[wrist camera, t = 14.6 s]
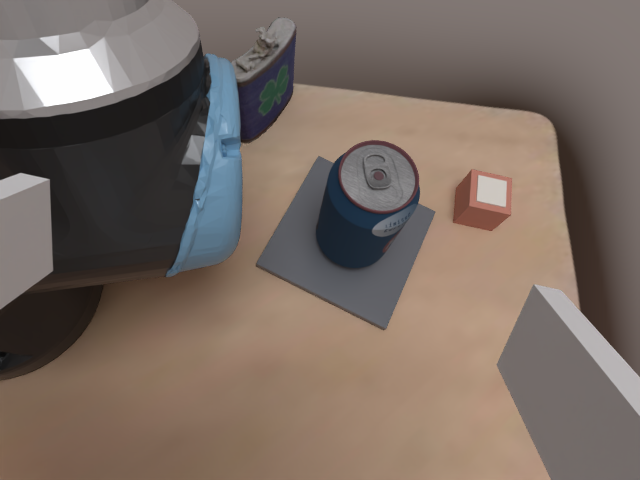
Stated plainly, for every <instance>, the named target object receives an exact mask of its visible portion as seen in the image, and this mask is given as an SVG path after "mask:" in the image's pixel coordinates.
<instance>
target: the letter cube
mask: <svg viewBox="0 0 640 480" xmlns="http://www.w3.org/2000/svg"><path fill="white" fill-rule="evenodd" d="M511 194H512V178H509V177H504V176H500V175H495V174H491V173H486V172H482V171H477V170H473V169H472V170H471V171H470V172H469V173H468V175H467V176H466V177H465V178H464V179H463V181H462V182H461V183H460V184H459V185H458V187H457V188H456V195H455V207H454V219H453V223H457V224H462V225H466V226H471V227H476V228H480V229H485V230H489V231H492V230H493V229H494V228H496V227H497V226H498V225H499V224H501V223H502V222H503V221H504V220H505V219H507V218H508V217H509V216H510V215H511Z"/></svg>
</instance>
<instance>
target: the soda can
mask: <svg viewBox="0 0 640 480" xmlns="http://www.w3.org/2000/svg"><path fill="white" fill-rule="evenodd" d="M419 197H420V188H419V174H418V170H417V168H416V165H415V163H414V162H413V160H412V159H411V157H410V156H409V155H408V154H407V153H406V152H405V151H404V150H402V149H401V148H399V147H398V146H396V145H394V144H391V143H388V142H385V141H378V140H372V141H365V142H362V143H359V144H357V145H355V146H353V147H352V148H350V149H349V150H348V151H347V152H346V153H344V154H343V155H342V156H340V157H339V158H338V159H337V160H336V161H335V163H334V164H333V166H332V167H331V170H330V172H329V175H328V179H327V183H326V187H325V192H324V196H323V200H322V204H321V208H320V212H319V216H318V220H317V224H316V237H317V241H318V244H319V246H320V248H321V250H322V251H323V252H324V254H325V255H326V256H327V257H328V258H329V259H330V260H332V261H333V262H335V263H337V264H339V265H341V266H344V267H348V268H362V267H366V266H369V265H372V264H374V263H375V262H377V261H378V260H379V259H380V258H381V257H382V256H383V255H384V254H385V252H386V251H387V249H388V248H389V247H390V245H391V244H392V242H393V241H394V240H395V238H396V237H397V235H398V234H399V232H400V231H401V230H402V228H403V227H404V225H405V224H406V223H407V221H408V220H409V218H410V217H411V215H412V214H413V213H414V211H415V209H416V207H417V205H418V202H419Z"/></svg>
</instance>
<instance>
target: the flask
mask: <svg viewBox="0 0 640 480" xmlns="http://www.w3.org/2000/svg"><path fill="white" fill-rule="evenodd" d="M255 31H256V32H260V33H261V35H259V37H260V39H259V40H257V42H256V43H255V45H254V46H253V47H252V48H251V49H250V50H249V51H247V52H246V53H245V54H244V55H243V56H241V57H239V58H237V59H235V60H233V61H232V62H231V64H232V65H233V67H234V71H235V75H236V80H237V87H238V96H239V108H240V123H241V127H240V140H241V142H242V143H249V142H252V141H253V140H256V139H257V138H259V137H260V136H261V135H262V134H263V133H264V132H266V131H267V129H269V128H270V127H271V126H272V124H273V123H274V122H275V121H276V120H277V118H278V116H279V115H280V114H281V112H282V111H283V110H284V108H285V106H287V104H288V102H289V101H290V98H291V96H292V93H293V80H294V56H295V42H296V25H295V24H294V22H293V21H292V20H291V19H287V18H279V17H278V18H277V19H275V20H274V21H273V22H272V23H271V25H270V26H269V28H268V30H267V31H265V28H264V27H261V28H259V29H256V30H255Z"/></svg>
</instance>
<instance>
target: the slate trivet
mask: <svg viewBox="0 0 640 480" xmlns="http://www.w3.org/2000/svg"><path fill="white" fill-rule="evenodd" d="M333 164H334V163H332V162H330V161H328V160H326V159H324V158H322V157H320V156H318V158H317V160H316V161H315V163H314V165H313V167H312V168H311V170H310V172H309V173H308V175H307V177H306V179H305V180H304V182H303V184H302V186H301V187H300V189H299V191H298V193H297V194H296V196H295V198H294V199H293V201H292V203H291V205H290V206H289V208H288V210H287V212H286V213H285V215H284V217H283V218H282V220H281V222H280V224H279V225H278V227H277V229H276V231H275V232H274V234H273V236H272V237H271V239H270V241H269V243H268V244H267V246H266V248H265V250H264V251H263V253H262V255H261V256H260V258H259V260H258V262H257V263H256V265H257V267H259V268H261V269H263V270H265V271H267V272H269V273H271V274H273V275H275V276H277V277H279V278H281V279H283V280H285V281H287V282H289V283H291V284H293V285H295V286H297V287H299V288H301V289H303V290H305V291H307V292H309V293H311V294H313V295H315V296H317V297H319V298H321V299H323V300H325V301H327V302H329V303H331V304H333V305H335V306H337V307H338V308H340V309H342V310H344V311H346V312H348V313H350V314H352V315H354V316H356V317H358V318H360V319H362V320H364V321H366V322H368V323H370V324H372V325H374V326H376V327H378V328H380V329H382V330H385V329H386V328H387V325H388V323H389V320H390V318H391V316H392V313H393V311H394V309H395V306H396V304H397V302H398V299H399V297H400V294H401V292H402V290H403V287H404V285H405V283H406V280H407V278H408V276H409V273H410V271H411V268H412V266H413V264H414V261H415V259H416V257H417V254H418V252H419V249H420V247H421V245H422V242H423V240H424V238H425V235H426V233H427V231H428V228H429V226H430V223H431V221H432V219H433V216H434V214H435V211H433V210H431V209H429V208H427V207H425V206H423V205H420V204H418V205H417V207H416V209H415V211H414V213H413V214H412V215H411V217H410V218H409V220H408V221H407V223H406V224H405V225H404V227H403V228H402V230H401V231H400V232H399V234H398V235H397V237H396V238H395V240H394V241H393V242H392V244H391V245H390V247H389V248H388V249H387V251H386V252H385V254H384V255H383V256H382V257H381V258H380V259H379V260H378V261H377V262H375V263H374V264H372V265H369V266H366V267H362V268H348V267H344V266H341V265H339V264H337V263H335V262H333V261H332V260H330V259H329V258H328V257H327V256H326V255H325V254H324V252H323V251H322V250H321V248H320V246H319V244H318V241H317V237H316V224H317V220H318V216H319V212H320V208H321V204H322V200H323V196H324V192H325V187H326V183H327V179H328V175H329V172H330V170H331V167H332V166H333Z"/></svg>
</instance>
